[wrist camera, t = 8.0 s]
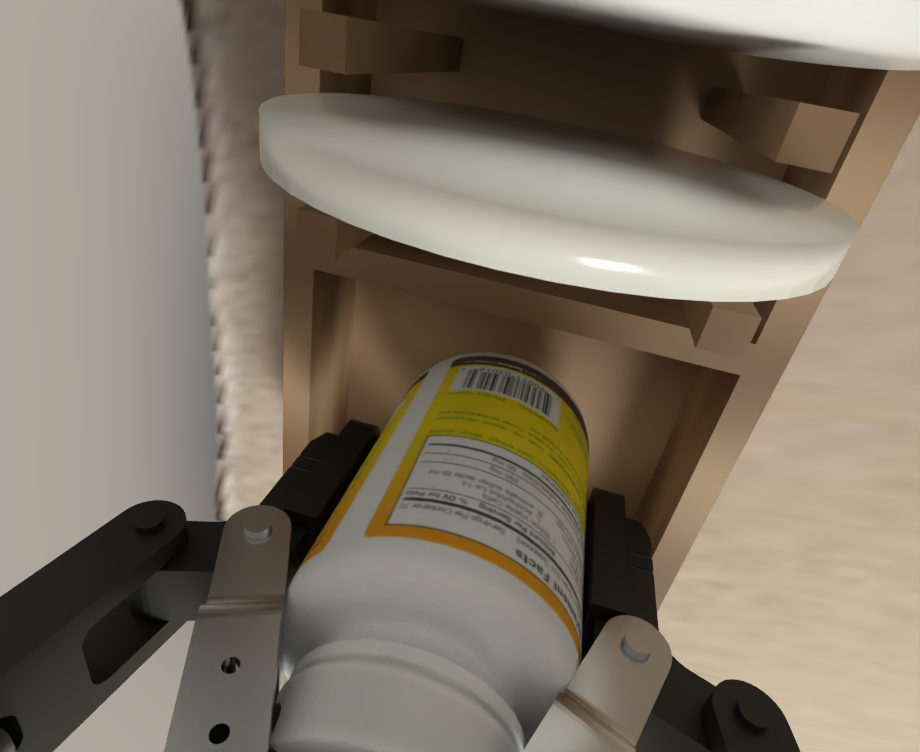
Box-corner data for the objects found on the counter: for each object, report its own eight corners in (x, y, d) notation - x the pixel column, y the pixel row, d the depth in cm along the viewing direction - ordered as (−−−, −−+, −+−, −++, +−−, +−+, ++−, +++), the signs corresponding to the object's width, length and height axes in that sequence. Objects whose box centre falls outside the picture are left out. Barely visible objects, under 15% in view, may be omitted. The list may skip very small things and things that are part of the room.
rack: (374, -215, 13) (92, -551, 6) (949, -136, 11) (1485, -459, 4) (333, 452, 22) (209, 624, 15) (639, 540, 21) (653, 774, 14)
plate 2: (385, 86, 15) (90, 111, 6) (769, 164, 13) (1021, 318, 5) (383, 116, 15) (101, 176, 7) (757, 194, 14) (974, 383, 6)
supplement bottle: (448, 515, 19) (308, 909, 10) (374, 372, 17) (116, 708, 8) (616, 485, 17) (625, 948, 8) (554, 317, 15) (473, 690, 6)
